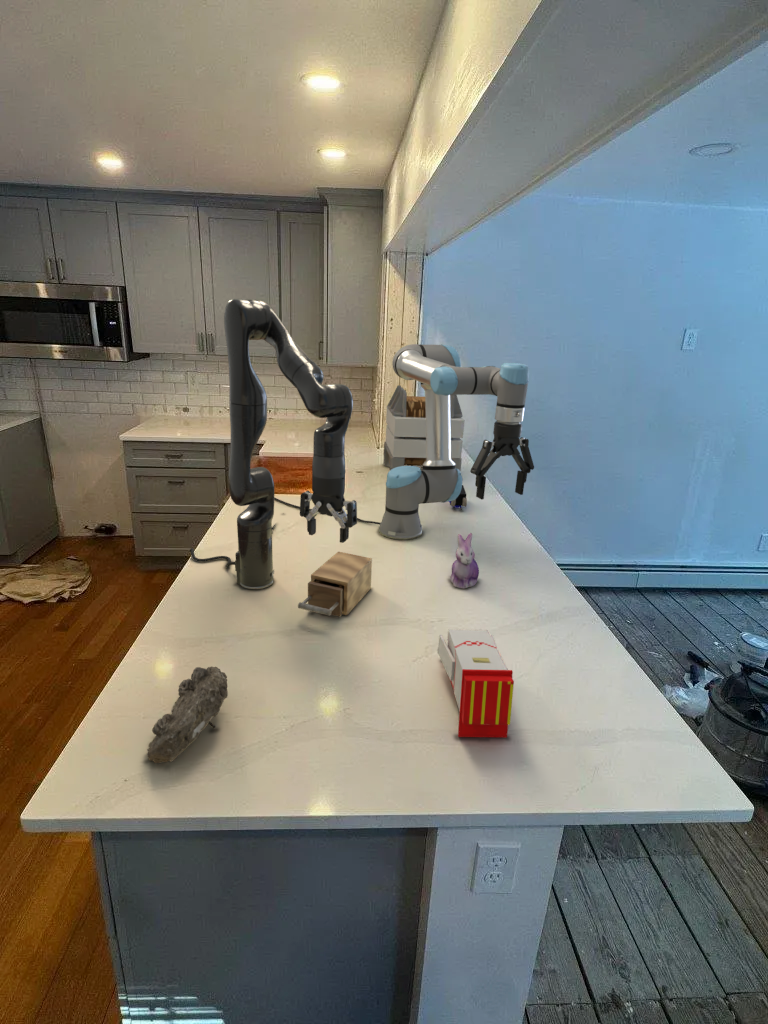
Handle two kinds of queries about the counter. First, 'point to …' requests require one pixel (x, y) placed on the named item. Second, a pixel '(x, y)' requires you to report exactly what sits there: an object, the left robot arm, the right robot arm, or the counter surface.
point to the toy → (478, 682)
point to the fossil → (189, 713)
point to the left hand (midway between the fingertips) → (327, 537)
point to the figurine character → (460, 500)
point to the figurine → (464, 564)
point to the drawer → (324, 598)
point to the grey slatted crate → (416, 430)
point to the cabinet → (347, 576)
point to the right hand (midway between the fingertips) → (499, 495)
